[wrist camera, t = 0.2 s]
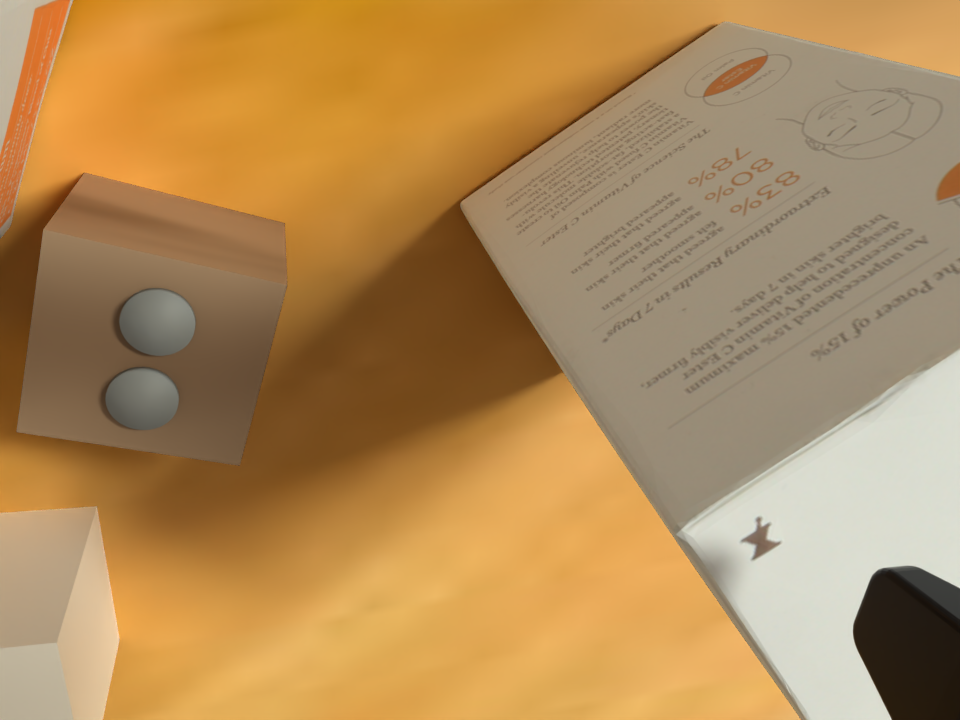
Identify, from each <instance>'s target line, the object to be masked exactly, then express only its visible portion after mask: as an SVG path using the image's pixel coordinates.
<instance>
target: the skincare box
mask: <svg viewBox="0 0 960 720" xmlns="http://www.w3.org/2000/svg"><path fill="white" fill-rule="evenodd" d="M72 2H73V0H0V238H1V237H2V236H3V235H4V234H5V232H6V231H7V230H8V229H9V228H10V226H11V223H12V219H13V213H14V209H15V205H16V200H17V196H18V192H19V188H20V184H21V180H22V177H23V173H24V169H25V165H26V162H27V158H28V154H29V150H30V146H31V142H32V138H33V134H34V130H35V127H36V123H37V119H38V115H39V111H40V108H41V104H42V101H43V97H44V93H45V90H46V87H47V84H48V81H49V77H50V74H51V71H52V68H53V64H54V61H55V57H56V54H57V51H58V48H59V45H60V41H61V38H62V35H63V31H64V28H65V25H66V21H67V18H68V15H69V11H70V8H71V5H72Z"/></svg>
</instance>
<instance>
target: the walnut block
mask: <svg viewBox="0 0 960 720" xmlns="http://www.w3.org/2000/svg"><path fill="white" fill-rule="evenodd" d="M286 288H287V266H286V242H285V223H282V222H278V221H274V220H270V219H266V218H262V217H258V216H254V215H250V214H246V213H242V212H238V211H234V210H231V209H227V208H223V207H219V206H215V205H211V204H207V203H203V202H199V201H195V200H191V199H187V198H183V197H179V196H175V195H171V194H167V193H163V192H159V191H155V190H151V189H147V188H143V187H139V186H136V185H132V184H128V183H124V182H120V181H116V180H112V179H108V178H104V177H100V176H96V175H92V174H88V173H84V174H83V175H82V177H81V178H80V179H79V181H78V182H77V184H76V185H75V186H74V188H73V189H72V191H71V192H70V193H69V195H68V196H67V197H66V199H65V200H64V202H63V203H62V204H61V206H60V207H59V208H58V210H57V211H56V213H55V214H54V215H53V217H52V218H51V220H50V221H49V222H48V224H47V225H46V226H45V228H44V229H43V235H42V243H41V250H40V258H39V266H38V273H37V281H36V288H35V296H34V303H33V311H32V318H31V326H30V333H29V341H28V349H27V356H26V364H25V371H24V379H23V386H22V394H21V401H20V409H19V416H18V424H17V431H16V432H19V433H25V434H32V435H39V436H45V437H52V438H59V439H65V440H72V441H79V442H85V443H92V444H99V445H105V446H112V447H118V448H125V449H132V450H138V451H145V452H152V453H158V454H165V455H172V456H178V457H185V458H192V459H198V460H205V461H211V462H218V463H225V464H231V465H238V466H240V463H241V459H242V455H243V452H244V448H245V444H246V440H247V436H248V433H249V429H250V425H251V421H252V417H253V414H254V410H255V406H256V402H257V398H258V395H259V391H260V387H261V383H262V379H263V376H264V372H265V368H266V364H267V360H268V357H269V353H270V349H271V345H272V341H273V338H274V334H275V330H276V326H277V322H278V319H279V315H280V311H281V307H282V303H283V300H284V296H285V292H286Z"/></svg>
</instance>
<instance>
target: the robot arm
mask: <svg viewBox="0 0 960 720" xmlns="http://www.w3.org/2000/svg"><path fill="white" fill-rule="evenodd" d="M853 639H854V642H855V646H856V648H857V651H858V653H859V655H860V657H861V659H862V661H863V663H864V665H865V667H866V669H867V671H868V673H869V675H870V677H871V679H872V681H873V683H874V685H875V687H876V689H877V691H878V693H879V695H880V697H881V699H882V701H883V703H884V705H885V707H886V709H887V711H888V713H889V715H890V717H891V719H892V720H960V588H959V587H957V586H955V585H953V584H951V583H949V582H947V581H945V580H943V579H941V578H939V577H937V576H935V575H933V574H931V573H929V572H927V571H925V570H923V569H921V568H919V567H916V566H908V565H907V566H897V567H887V568H881V569H878V570H877V571H876V572H875V573H874V574H873V575H872V577H871V579H870V581H869V583H868V586H867V589H866V591H865V594H864V597H863V599H862V602H861V604H860V607H859V610H858V612H857V615H856V617H855V620H854V623H853Z"/></svg>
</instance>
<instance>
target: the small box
mask: <svg viewBox="0 0 960 720" xmlns="http://www.w3.org/2000/svg"><path fill="white" fill-rule="evenodd" d="M460 208H461V210H462V211H463V213H464V215H465V217H466V218H467V220H468V222H469V224H470V225H471V227H472V229H473V230H474V232H475V233H476V235H477V237H478V238H479V240H480V241H481V243H482V245H483V246H484V248H485V249H486V251H487V253H488V254H489V256H490V257H491V259H492V261H493V262H494V264H495V266H496V267H497V269H498V271H499V272H500V274H501V275H502V277H503V279H504V280H505V282H506V283H507V285H508V286H509V288H510V290H511V291H512V293H513V294H514V296H515V298H516V299H517V301H518V302H519V304H520V305H521V307H522V309H523V310H524V312H525V313H526V315H527V316H528V318H529V320H530V321H531V323H532V324H533V326H534V327H535V329H536V330H537V332H538V334H539V335H540V337H541V338H542V340H543V341H544V343H545V344H546V346H547V348H548V349H549V351H550V352H551V354H552V355H553V357H554V358H555V360H556V362H557V363H558V365H559V366H560V368H561V369H562V371H563V372H564V374H565V376H566V377H567V379H568V380H569V382H570V383H571V385H572V386H573V388H574V389H575V391H576V392H577V394H578V395H579V397H580V398H581V400H582V401H583V403H584V404H585V406H586V407H587V409H588V410H589V412H590V413H591V415H592V416H593V418H594V419H595V421H596V422H597V424H598V425H599V427H600V428H601V430H602V431H603V433H604V434H605V436H606V437H607V439H608V440H609V442H610V443H611V445H612V446H613V448H614V449H615V451H616V452H617V454H618V455H619V457H620V458H621V460H622V461H623V463H624V464H625V466H626V467H627V469H628V470H629V472H630V473H631V475H632V476H633V478H634V479H635V481H636V482H637V484H638V485H639V487H640V488H641V490H642V491H643V492H644V494H645V495H646V497H647V498H648V500H649V501H650V503H651V504H652V506H653V507H654V509H655V510H656V512H657V513H658V515H659V516H660V518H661V519H662V521H663V522H664V524H665V525H666V527H667V528H668V530H669V531H670V533H671V534H672V536H673V537H674V538H675V540H676V541H677V543H678V544H679V546H680V547H681V549H682V550H683V552H684V553H685V554H686V556H687V557H688V559H689V560H690V562H691V563H692V565H693V566H694V567H695V569H696V570H697V572H698V573H699V575H700V576H701V578H702V579H703V580H704V582H705V583H706V585H707V586H708V588H709V589H710V591H711V592H712V593H713V595H714V596H715V598H716V599H717V601H718V602H719V604H720V605H721V606H722V608H723V609H724V611H725V612H726V614H727V615H728V617H729V618H730V619H731V621H732V622H733V624H734V625H735V627H736V628H737V629H738V631H739V632H740V634H741V635H742V636H743V638H744V639H745V641H746V642H747V644H748V645H749V646H750V648H751V649H752V651H753V652H754V653H755V655H756V656H757V658H758V659H759V660H760V662H761V663H762V665H763V666H764V668H765V669H766V670H767V672H768V673H769V675H770V676H771V677H772V679H773V680H774V682H775V683H776V684H777V686H778V687H779V689H780V690H781V692H782V693H783V694H784V696H785V697H786V699H787V700H788V701H789V703H790V704H791V706H792V707H793V709H794V710H795V711H796V713H797V714H798V716H799V717H800V718H801V720H892V719H891V717H890V715H889V713H888V711H887V709H886V707H885V705H884V703H883V701H882V699H881V697H880V695H879V693H878V691H877V689H876V687H875V685H874V683H873V681H872V679H871V677H870V675H869V673H868V671H867V669H866V667H865V665H864V663H863V661H862V659H861V657H860V655H859V653H858V651H857V648H856V646H855V642H854V639H853V623H854V620H855V617H856V615H857V612H858V610H859V607H860V604H861V602H862V599H863V597H864V594H865V591H866V589H867V586H868V583H869V581H870V579H871V577H872V575H873V574H874V573H875V572H876V571H877V570H878V569H881V568H887V567H897V566H907V565H908V566H916V567H919V568H921V569H923V570H925V571H927V572H929V573H931V574H933V575H935V576H937V577H939V578H941V579H943V580H945V581H947V582H949V583H951V584H953V585H955V586H957V587H959V588H960V77H958V76H954V75H950V74H946V73H942V72H937V71H932V70H928V69H924V68H920V67H915V66H911V65H907V64H903V63H899V62H894V61H890V60H886V59H882V58H878V57H874V56H870V55H866V54H862V53H858V52H853V51H849V50H845V49H840V48H836V47H832V46H828V45H823V44H819V43H815V42H811V41H807V40H802V39H798V38H794V37H790V36H786V35H781V34H777V33H773V32H769V31H764V30H760V29H756V28H752V27H747V26H743V25H739V24H735V23H731V22H722V23H721V24H719V25H717V26H716V27H714V28H713V29H711V30H710V31H708V32H707V33H706V34H704V35H703V36H701V37H700V38H698V39H697V40H695V41H694V42H692V43H691V44H689V45H688V46H686V47H685V48H683V49H682V50H681V51H679V52H678V53H676V54H675V55H673V56H672V57H670V58H669V59H667V60H666V61H664V62H663V63H661V64H660V65H658V66H657V67H655V68H654V69H652V70H651V71H650V72H648V73H647V74H645V75H644V76H642V77H641V78H639V79H638V80H637V81H635V82H634V83H632V84H631V85H629V86H628V87H626V88H625V89H623V90H622V91H621V92H619V93H618V94H616V95H615V96H613V97H612V98H610V99H609V100H607V101H606V102H604V103H603V104H601V105H600V106H599V107H597V108H596V109H594V110H593V111H591V112H590V113H588V114H587V115H585V116H584V117H582V118H581V119H579V120H578V121H577V122H575V123H574V124H572V125H571V126H569V127H568V128H566V129H565V130H563V131H562V132H560V133H559V134H558V135H556V136H555V137H553V138H552V139H550V140H549V141H547V142H546V143H545V144H543V145H542V146H540V147H539V148H537V149H536V150H534V151H533V152H532V153H530V154H529V155H527V156H526V157H524V158H523V159H522V160H520V161H519V162H517V163H516V164H514V165H513V166H511V167H510V168H508V169H507V170H506V171H504V172H503V173H501V174H500V175H498V176H497V177H496V178H494V179H493V180H491V181H490V182H488V183H487V184H486V185H484V186H483V187H481V188H480V189H478V190H477V191H476V192H474V193H473V194H471V195H470V196H468V197H467V198H466V199H464V200H463V201H462V202H461V203H460Z"/></svg>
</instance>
